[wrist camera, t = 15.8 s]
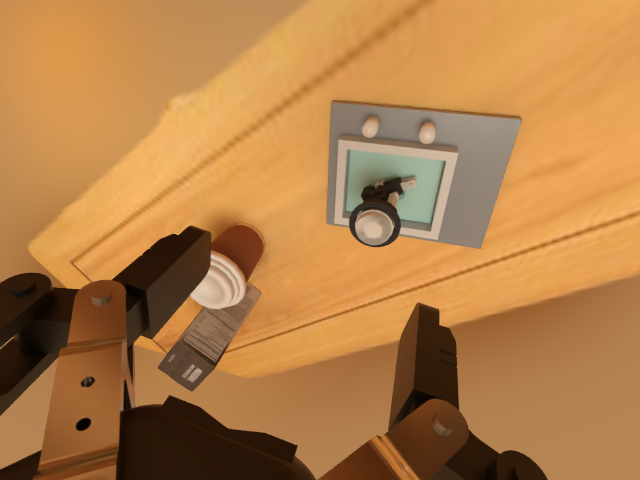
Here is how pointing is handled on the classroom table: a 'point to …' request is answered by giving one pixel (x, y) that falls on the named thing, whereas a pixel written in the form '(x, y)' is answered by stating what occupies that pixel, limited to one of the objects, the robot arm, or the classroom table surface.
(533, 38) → the classroom table surface
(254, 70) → the classroom table surface
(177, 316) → the classroom table surface
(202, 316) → the coffee box
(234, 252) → the coffee cup
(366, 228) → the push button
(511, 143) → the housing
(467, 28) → the classroom table surface
